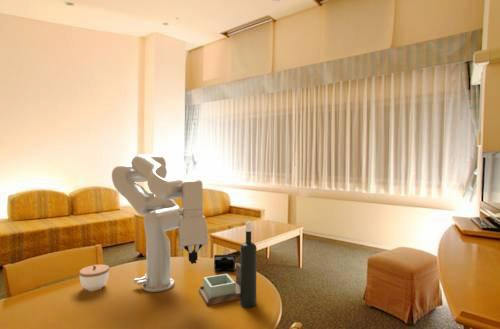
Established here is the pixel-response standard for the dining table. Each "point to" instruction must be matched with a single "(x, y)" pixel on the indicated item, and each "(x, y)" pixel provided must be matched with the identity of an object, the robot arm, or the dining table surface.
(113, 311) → the dining table surface
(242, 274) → the wine bottle
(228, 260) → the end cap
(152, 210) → the robot arm
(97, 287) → the lidded jar
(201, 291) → the rail board
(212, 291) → the socket block
